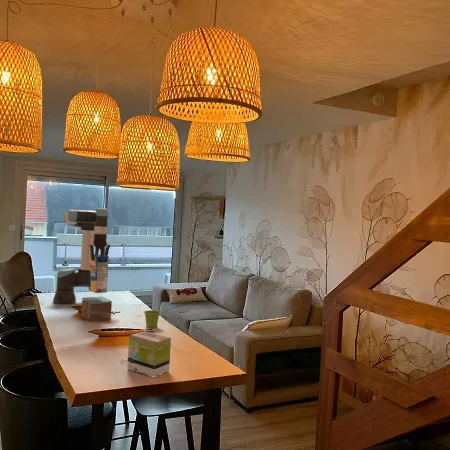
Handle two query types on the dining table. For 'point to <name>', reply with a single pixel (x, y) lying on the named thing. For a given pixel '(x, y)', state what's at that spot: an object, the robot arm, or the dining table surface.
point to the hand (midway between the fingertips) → (98, 271)
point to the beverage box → (98, 274)
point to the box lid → (96, 300)
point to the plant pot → (151, 318)
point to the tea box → (149, 353)
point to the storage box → (96, 311)
